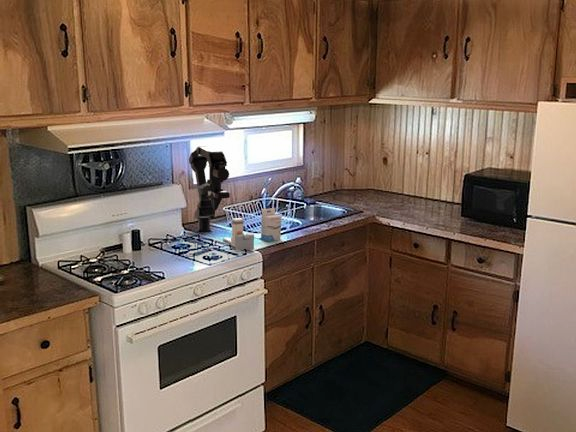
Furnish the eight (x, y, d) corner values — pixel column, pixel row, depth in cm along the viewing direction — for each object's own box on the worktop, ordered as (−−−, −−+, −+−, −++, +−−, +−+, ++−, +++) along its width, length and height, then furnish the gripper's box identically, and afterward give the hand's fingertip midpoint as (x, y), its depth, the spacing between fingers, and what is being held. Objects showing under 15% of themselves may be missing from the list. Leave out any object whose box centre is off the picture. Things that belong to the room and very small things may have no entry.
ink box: (267, 242, 293) (268, 211, 290) (260, 239, 296) (261, 209, 293) (280, 239, 298) (281, 209, 295) (274, 237, 302) (275, 207, 299)
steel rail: (223, 240, 292) (223, 238, 292) (228, 240, 294) (228, 237, 293) (239, 248, 279) (239, 245, 279) (245, 247, 281) (245, 245, 280)
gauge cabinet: (234, 248, 278) (234, 234, 277) (249, 246, 282) (250, 233, 281) (238, 250, 275) (238, 236, 274) (253, 248, 279) (254, 234, 278)
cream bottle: (230, 245, 284) (231, 218, 281) (240, 243, 286) (241, 217, 284) (236, 247, 280) (236, 220, 277) (246, 246, 282) (246, 219, 280)
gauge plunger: (236, 236, 281) (236, 231, 280) (241, 236, 282) (241, 230, 282) (245, 240, 275) (245, 235, 274) (250, 240, 276) (250, 234, 275)
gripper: (191, 175, 296) (191, 208, 300) (208, 181, 281) (208, 215, 284) (212, 174, 303) (212, 206, 306) (230, 180, 287) (230, 213, 290)
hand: (215, 210), depth 296 cm, fingers closed
